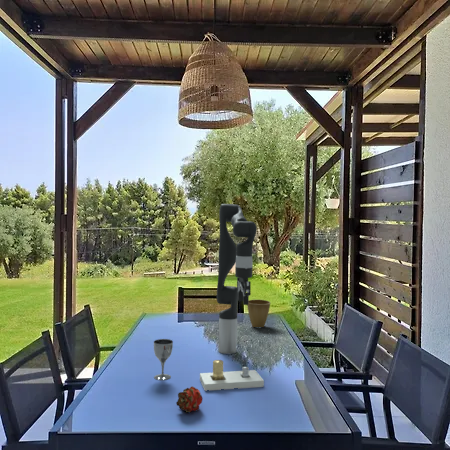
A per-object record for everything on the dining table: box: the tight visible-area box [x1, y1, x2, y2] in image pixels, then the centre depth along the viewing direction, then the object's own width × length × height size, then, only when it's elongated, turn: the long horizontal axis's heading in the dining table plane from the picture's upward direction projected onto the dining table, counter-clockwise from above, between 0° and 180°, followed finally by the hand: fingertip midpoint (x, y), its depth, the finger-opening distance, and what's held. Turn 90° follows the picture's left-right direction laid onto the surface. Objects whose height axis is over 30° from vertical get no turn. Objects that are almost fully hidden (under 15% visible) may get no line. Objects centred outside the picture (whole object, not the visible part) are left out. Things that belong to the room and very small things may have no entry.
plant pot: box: [246, 299, 271, 328], centre depth 262 cm, size 15×15×16 cm
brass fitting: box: [212, 359, 224, 381], centre depth 167 cm, size 4×4×9 cm
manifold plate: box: [199, 369, 265, 392], centre depth 168 cm, size 12×24×2 cm, turn 103°
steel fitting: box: [241, 366, 250, 378], centre depth 169 cm, size 3×3×6 cm
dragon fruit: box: [175, 386, 203, 413], centre depth 143 cm, size 8×8×12 cm
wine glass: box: [153, 338, 174, 381], centre depth 173 cm, size 8×8×15 cm
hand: (243, 302), depth 182 cm, fingers open, 8 cm apart
